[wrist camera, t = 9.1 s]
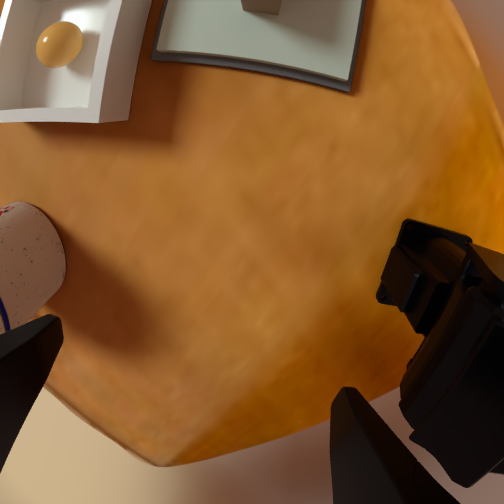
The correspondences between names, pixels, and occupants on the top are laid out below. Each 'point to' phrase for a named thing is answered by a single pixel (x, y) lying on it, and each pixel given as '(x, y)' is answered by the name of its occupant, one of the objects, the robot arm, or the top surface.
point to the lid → (266, 32)
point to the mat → (258, 65)
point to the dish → (80, 77)
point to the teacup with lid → (27, 263)
